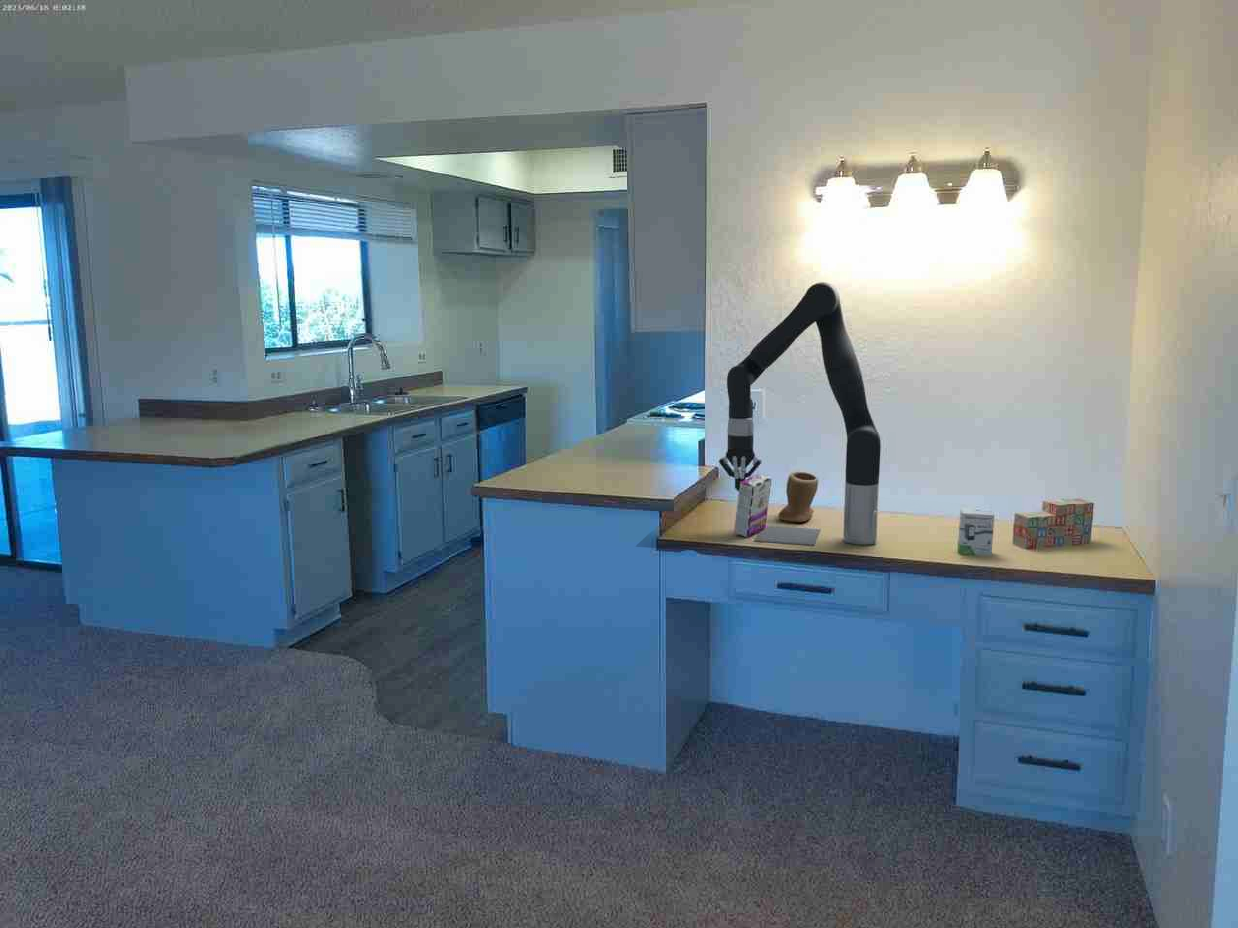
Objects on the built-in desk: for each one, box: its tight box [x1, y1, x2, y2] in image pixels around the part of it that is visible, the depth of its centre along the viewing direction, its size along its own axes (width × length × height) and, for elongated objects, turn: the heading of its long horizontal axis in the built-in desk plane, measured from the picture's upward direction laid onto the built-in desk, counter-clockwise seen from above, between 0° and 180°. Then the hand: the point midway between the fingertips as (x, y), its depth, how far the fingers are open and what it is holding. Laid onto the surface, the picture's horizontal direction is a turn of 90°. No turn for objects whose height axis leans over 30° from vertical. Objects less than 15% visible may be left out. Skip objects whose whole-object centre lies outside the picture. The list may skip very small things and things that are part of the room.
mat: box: [753, 525, 821, 547], centre depth 286 cm, size 17×18×1 cm
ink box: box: [957, 508, 995, 557], centre depth 266 cm, size 9×5×12 cm, turn 75°
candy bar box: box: [733, 473, 773, 538], centre depth 286 cm, size 11×5×16 cm, turn 143°
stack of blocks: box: [1011, 498, 1095, 550], centre depth 275 cm, size 21×6×12 cm, turn 105°
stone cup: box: [777, 470, 819, 523], centre depth 305 cm, size 15×12×15 cm
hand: (739, 490), depth 287 cm, fingers closed
